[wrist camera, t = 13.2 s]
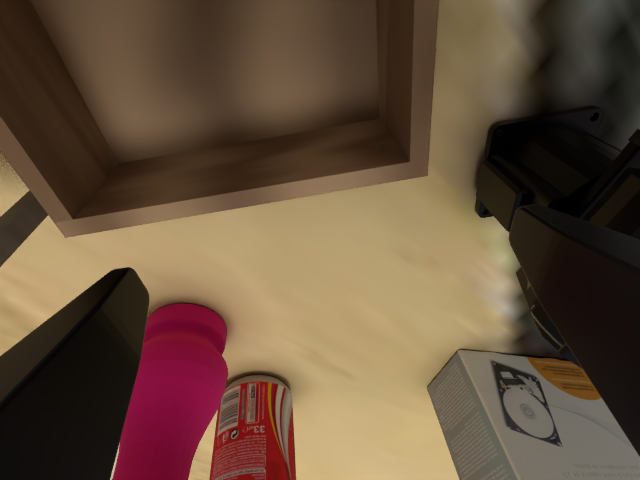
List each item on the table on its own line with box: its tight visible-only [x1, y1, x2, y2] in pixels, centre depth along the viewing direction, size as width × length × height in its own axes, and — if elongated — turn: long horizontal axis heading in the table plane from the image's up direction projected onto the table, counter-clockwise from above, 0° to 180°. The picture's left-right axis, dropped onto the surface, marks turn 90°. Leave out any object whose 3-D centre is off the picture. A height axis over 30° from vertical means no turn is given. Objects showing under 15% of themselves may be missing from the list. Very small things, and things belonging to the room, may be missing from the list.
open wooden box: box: [0, 0, 439, 267], centre depth 13 cm, size 20×13×10 cm, turn 98°
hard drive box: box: [427, 350, 640, 480], centre depth 31 cm, size 16×8×20 cm, turn 74°
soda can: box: [210, 375, 296, 480], centre depth 30 cm, size 7×7×13 cm
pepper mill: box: [112, 303, 228, 480], centre depth 21 cm, size 7×7×20 cm
